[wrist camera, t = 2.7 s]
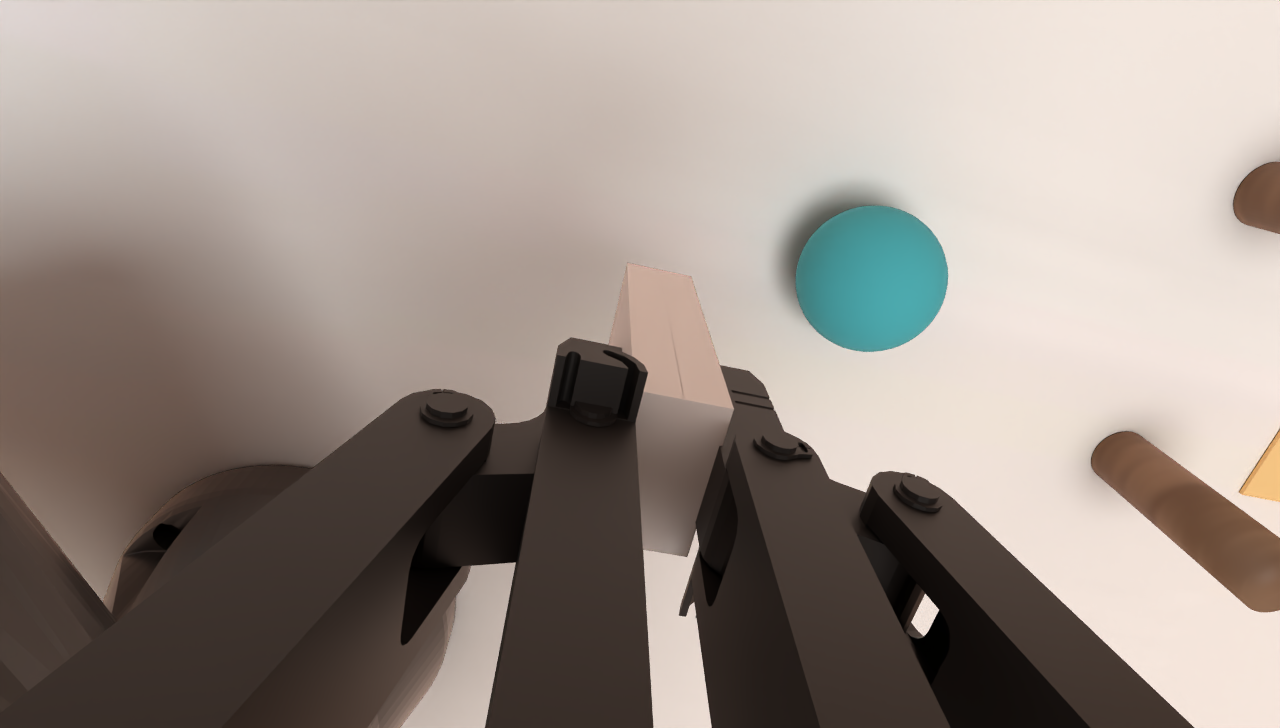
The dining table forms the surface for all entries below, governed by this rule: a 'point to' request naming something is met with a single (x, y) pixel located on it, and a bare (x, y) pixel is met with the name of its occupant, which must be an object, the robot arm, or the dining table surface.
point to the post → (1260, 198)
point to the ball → (871, 278)
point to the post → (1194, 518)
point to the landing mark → (1266, 475)
